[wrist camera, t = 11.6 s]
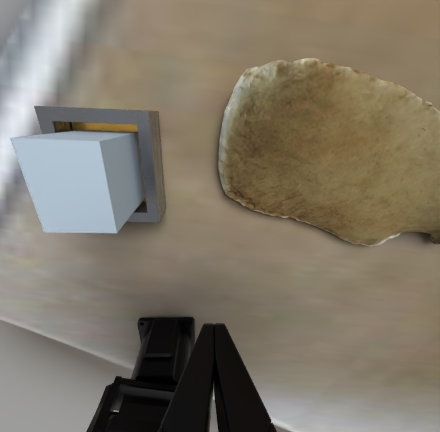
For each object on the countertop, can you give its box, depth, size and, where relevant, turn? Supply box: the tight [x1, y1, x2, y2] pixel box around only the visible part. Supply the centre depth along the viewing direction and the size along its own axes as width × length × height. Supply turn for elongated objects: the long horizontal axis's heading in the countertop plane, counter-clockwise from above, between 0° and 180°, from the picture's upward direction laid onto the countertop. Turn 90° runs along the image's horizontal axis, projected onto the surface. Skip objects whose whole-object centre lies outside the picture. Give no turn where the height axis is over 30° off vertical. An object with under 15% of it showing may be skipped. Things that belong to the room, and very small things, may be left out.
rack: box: [34, 106, 166, 222], centre depth 16 cm, size 8×7×3 cm
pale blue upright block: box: [10, 130, 146, 233], centre depth 14 cm, size 5×4×6 cm
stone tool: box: [218, 58, 440, 247], centre depth 17 cm, size 12×4×25 cm
